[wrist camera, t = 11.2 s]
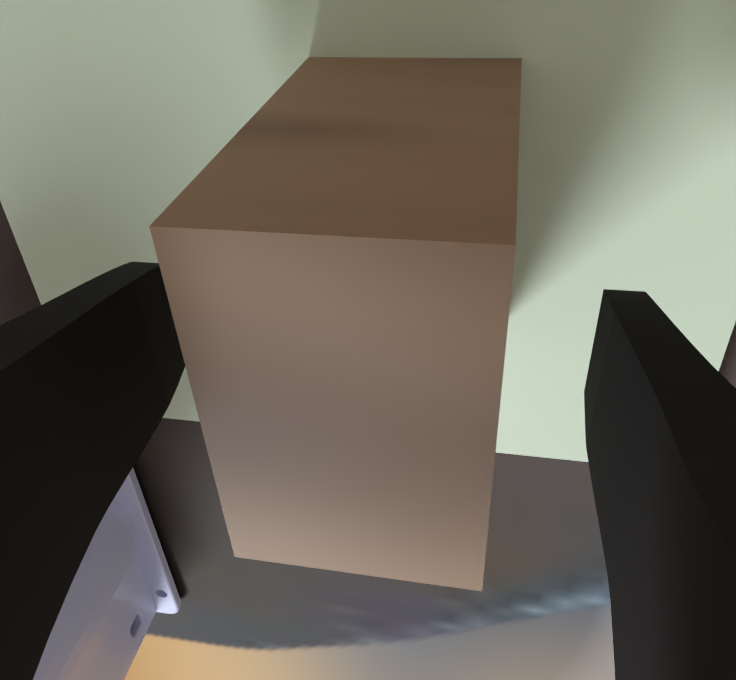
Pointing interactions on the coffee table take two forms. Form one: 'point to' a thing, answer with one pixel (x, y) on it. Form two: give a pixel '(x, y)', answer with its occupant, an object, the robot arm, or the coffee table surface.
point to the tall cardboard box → (354, 313)
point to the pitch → (401, 40)
